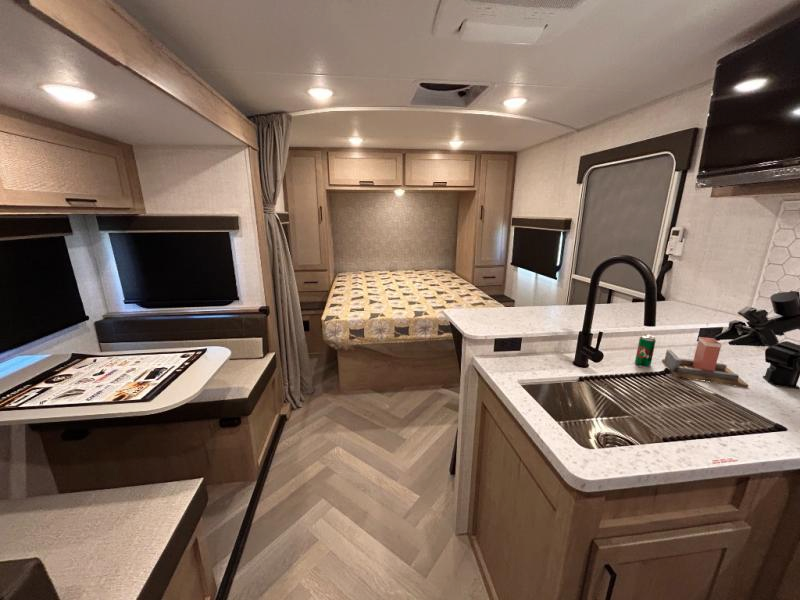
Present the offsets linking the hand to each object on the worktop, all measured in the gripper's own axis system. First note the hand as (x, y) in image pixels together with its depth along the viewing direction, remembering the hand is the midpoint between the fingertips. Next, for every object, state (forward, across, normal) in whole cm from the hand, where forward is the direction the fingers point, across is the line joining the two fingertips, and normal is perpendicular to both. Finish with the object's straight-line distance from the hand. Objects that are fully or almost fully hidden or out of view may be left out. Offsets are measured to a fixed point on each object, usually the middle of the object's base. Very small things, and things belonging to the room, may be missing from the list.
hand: (721, 341), depth 111 cm
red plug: (+8, -4, +10) cm, 13 cm away
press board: (+9, -5, +11) cm, 15 cm away
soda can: (+24, -5, +2) cm, 25 cm away
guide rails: (+9, -4, +9) cm, 14 cm away
